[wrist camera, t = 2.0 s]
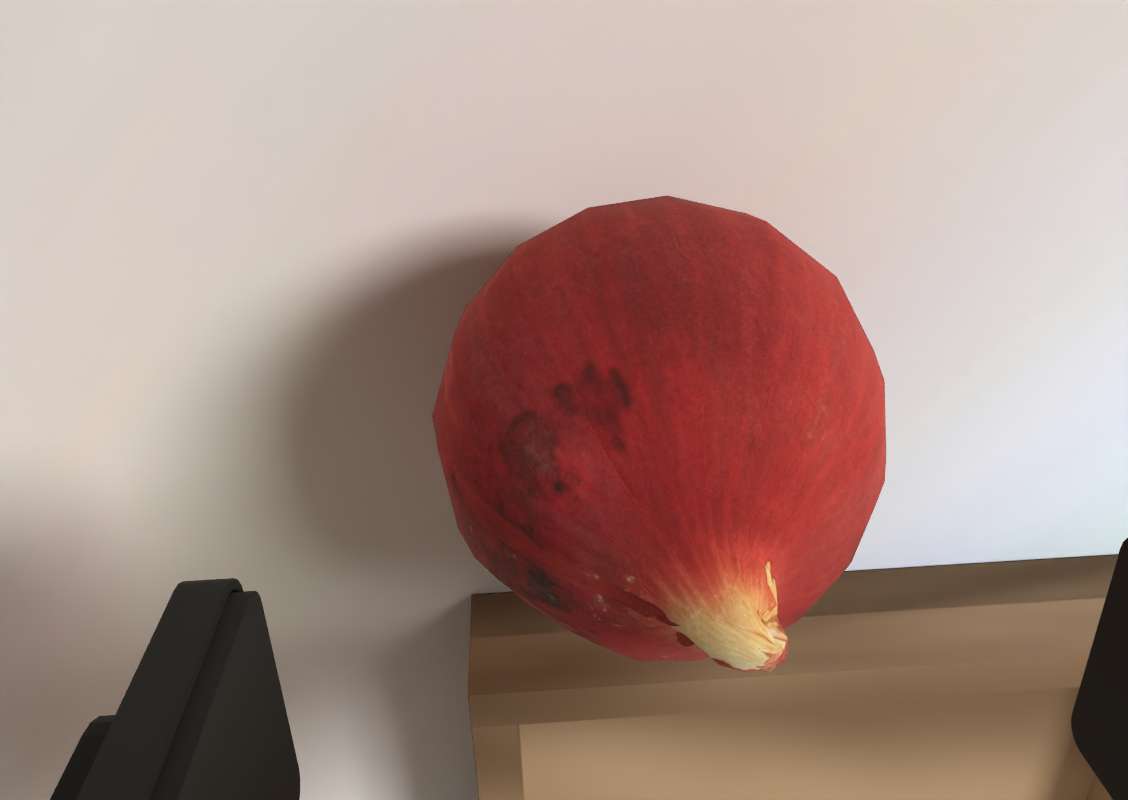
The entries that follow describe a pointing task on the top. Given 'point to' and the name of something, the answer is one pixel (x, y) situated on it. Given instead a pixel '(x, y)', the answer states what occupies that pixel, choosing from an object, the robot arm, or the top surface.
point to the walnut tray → (807, 697)
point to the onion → (664, 430)
